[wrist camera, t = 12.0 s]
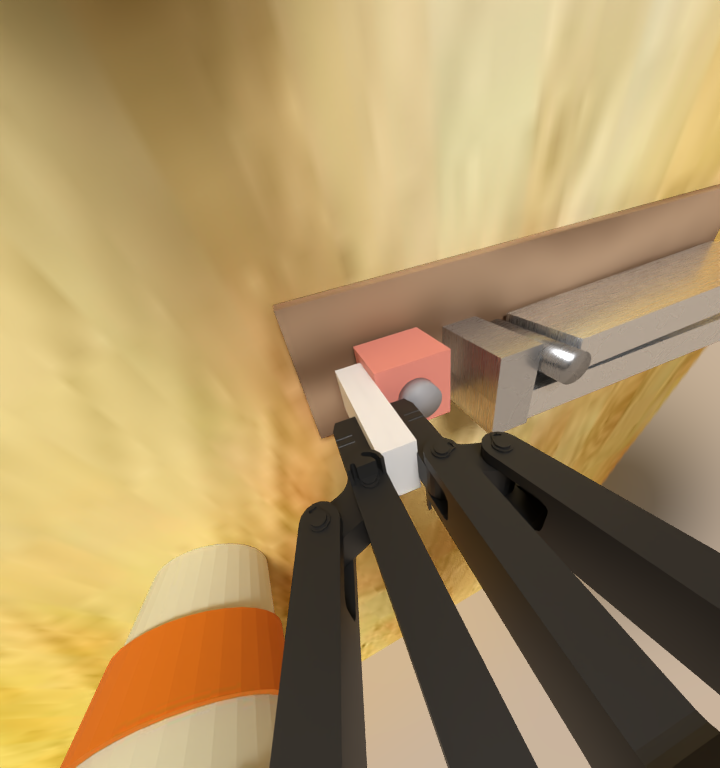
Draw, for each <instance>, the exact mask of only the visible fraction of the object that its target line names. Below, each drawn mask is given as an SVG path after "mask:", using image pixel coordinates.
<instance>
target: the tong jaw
mask: <svg viewBox="0 0 720 768" xmlns="http://www.w3.org/2000/svg"><path fill="white" fill-rule="evenodd" d="M718 313H720V241H709V242H707V243H704V244H701V245H698V246H695V247H692V248H690V249H687V250H684V251H681V252H678V253H675V254H673V255H670V256H667V257H664V258H661V259H658V260H656V261H653V262H650V263H647V264H644V265H641V266H639V267H636V268H633V269H630V270H627V271H624V272H622V273H619V274H616V275H613V276H610V277H607V278H605V279H602V280H599V281H596V282H593V283H590V284H588V285H585V286H582V287H579V288H576V289H573V290H571V291H568V292H565V293H562V294H559V295H556V296H554V297H551V298H548V299H545V300H542V301H539V302H537V303H534V304H531V305H528V306H525V307H522V308H520V309H517V310H514V311H511V312H508V313H507V317H506V321H504V320H502V319H495V320H493V321H491V323H493V324H496V325H498V326H501V327H503V328H506V329H508V330H511V331H513V332H516V333H518V334H520V335H523V336H525V337H528V338H530V339H533V340H535V341H538V342H540V343H543V347H542V352H541V356H540V361H539V366H538V370H537V371H539V372H541V373H543V374H545V375H547V376H549V377H551V378H553V379H554V380H556V381H558V382H560V383H562V384H565V385H568V384H572V383H574V382H575V381H577V380H578V379H579V378H581V377H582V376H583V374H584V373H585V372H586V371H587V369H588V367H589V366H591V365H593V364H596V363H598V362H601V361H603V360H606V359H608V358H611V357H613V356H615V355H618V354H620V353H623V352H625V351H628V350H630V349H633V348H635V347H637V346H640V345H642V344H645V343H647V342H650V341H652V340H655V339H657V338H659V337H662V336H664V335H667V334H669V333H672V332H674V331H677V330H679V329H682V328H684V327H686V326H689V325H691V324H694V323H696V322H699V321H701V320H704V319H706V318H708V317H711V316H713V315H716V314H718Z"/></svg>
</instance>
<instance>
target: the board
mask: <svg viewBox="0 0 720 768" xmlns="http://www.w3.org/2000/svg"><path fill="white" fill-rule="evenodd" d="M719 229H720V185H715V186H711V187H707V188H704V189H700V190H696V191H693V192H689V193H685V194H682V195H678V196H674V197H671V198H667V199H663V200H659V201H656V202H652V203H648V204H645V205H641V206H637V207H634V208H630V209H626V210H623V211H619V212H615V213H611V214H608V215H604V216H600V217H597V218H593V219H589V220H586V221H582V222H578V223H575V224H571V225H567V226H564V227H560V228H556V229H552V230H549V231H545V232H541V233H538V234H534V235H530V236H527V237H523V238H519V239H516V240H512V241H508V242H504V243H501V244H497V245H493V246H490V247H486V248H482V249H479V250H475V251H471V252H468V253H464V254H460V255H457V256H453V257H449V258H445V259H442V260H438V261H434V262H431V263H427V264H423V265H420V266H416V267H412V268H409V269H405V270H401V271H398V272H394V273H390V274H386V275H383V276H379V277H375V278H372V279H368V280H364V281H361V282H357V283H353V284H350V285H346V286H342V287H338V288H335V289H331V290H327V291H324V292H320V293H316V294H313V295H309V296H305V297H302V298H298V299H294V300H291V301H287V302H283V303H279V304H276V305H273V309H274V313H275V316H276V318H277V321H278V324H279V326H280V329H281V332H282V334H283V337H284V340H285V342H286V345H287V348H288V350H289V353H290V356H291V358H292V361H293V364H294V367H295V369H296V372H297V375H298V377H299V380H300V383H301V385H302V388H303V391H304V393H305V396H306V399H307V401H308V404H309V407H310V409H311V412H312V415H313V418H314V420H315V423H316V426H317V428H318V431H319V434H320V436H321V439H322V438H325V437H327V436H330V435H333V430H334V425H335V423H338V422H340V421H343V420H346V419H349V416H348V414H347V412H346V409H345V406H344V402H343V399H342V395H341V391H340V388H339V384H338V381H337V377H336V373H335V371H336V370H339V369H342V368H345V367H348V366H351V365H354V364H357V363H356V358H355V354H354V349H353V347H354V346H357V345H360V344H363V343H367V342H370V341H373V340H376V339H379V338H383V337H386V336H389V335H392V334H395V333H399V332H402V331H405V330H408V329H411V328H415V327H417V328H419V329H420V330H422V331H423V332H425V333H426V334H428V335H430V336H431V337H433V338H434V339H436V340H437V341H439V342H441V343H442V344H443V339H442V327H443V326H446V325H449V324H452V323H455V322H458V321H462V320H465V319H468V318H471V317H474V316H476V317H479V318H481V319H484V320H486V321H489V322H491V321H493V320H495V319H502V320H504V321H506V317H507V313H508V312H511V311H514V310H517V309H520V308H522V307H525V306H528V305H531V304H534V303H537V302H539V301H542V300H545V299H548V298H551V297H554V296H556V295H559V294H562V293H565V292H568V291H571V290H573V289H576V288H579V287H582V286H585V285H588V284H590V283H593V282H596V281H599V280H602V279H605V278H607V277H610V276H613V275H616V274H619V273H622V272H624V271H627V270H630V269H633V268H636V267H639V266H641V265H644V264H647V263H650V262H653V261H656V260H658V259H661V258H664V257H667V256H670V255H673V254H675V253H678V252H681V251H684V250H687V249H690V248H692V247H695V246H698V245H701V244H704V243H707V242H709V241H714V239H715V237H716V235H717V233H718V231H719Z"/></svg>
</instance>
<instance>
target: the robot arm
mask: <svg viewBox="0 0 720 768" xmlns="http://www.w3.org/2000/svg"><path fill="white" fill-rule="evenodd" d="M335 373H336V377H337V381H338V384H339V388H340V391H341V395H342V399H343V402H344V406H345V409H346V412H347V414H348V416H349V419H346V420H343V421H340V422H338V423H335V425H334V430H333V434H334V437H335V440H336V443H337V446H338V449H339V452H340V455H341V458H342V461H343V464H344V467H345V470H346V473H347V476H348V482H347V485H346V488H345V489H344V491H343V492H342V493H341V494H340V495H339V496H338V497H337V498H335V499H334V500H333V501H332V502H318V503H315V504H313V505H311V506H310V507H309V508H307V509H306V511H305V512H304V513H303V515H302V516H301V519H300V523H299V528H298V537H297V545H296V553H295V561H294V569H293V577H292V586H291V594H290V602H289V610H288V618H287V627H286V635H285V643H284V651H283V659H282V668H281V676H280V684H279V692H278V700H277V708H276V717H275V725H274V733H273V741H272V749H271V758H270V766H269V768H367V758H366V740H365V722H364V703H363V684H362V667H361V647H360V629H359V610H358V592H357V573H356V556H357V555H358V554H359V553H361V552H362V551H363V550H364V549H365V548H366V547H367V546H368V545H369V544H370V543H371V546H372V549H373V552H374V554H375V557H376V560H377V563H378V566H379V569H380V572H381V575H382V578H383V581H384V583H385V586H386V589H387V592H388V595H389V598H390V601H391V604H392V607H393V610H394V612H395V615H396V618H397V621H398V624H399V627H400V630H401V633H402V636H403V639H404V641H405V644H406V647H407V650H408V652H409V656H410V659H411V662H412V665H413V668H414V670H415V673H416V676H417V679H418V682H419V685H420V688H421V691H422V694H423V697H424V699H425V702H426V705H427V708H428V711H429V714H430V717H431V720H432V723H433V726H434V728H435V731H436V734H437V737H438V740H439V743H440V746H441V749H442V752H443V755H444V757H445V760H446V763H447V766H448V768H538V767H537V765H536V763H535V761H534V759H533V757H532V755H531V753H530V751H529V749H528V747H527V745H526V743H525V742H524V739H523V737H522V736H521V734H520V732H519V730H518V728H517V726H516V724H515V722H514V720H513V718H512V716H511V714H510V712H509V710H508V708H507V706H506V704H505V702H504V700H503V699H502V697H501V694H500V693H499V691H498V689H497V687H496V685H495V683H494V681H493V679H492V677H491V675H490V673H489V671H488V669H487V667H486V665H485V663H484V661H483V659H482V657H481V655H480V654H479V652H478V650H477V648H476V646H475V644H474V642H473V640H472V638H471V636H470V634H469V632H468V630H467V628H466V626H465V624H464V622H463V620H462V618H461V616H460V615H459V613H458V611H457V609H456V607H455V605H454V603H453V601H452V599H451V597H450V595H449V593H448V591H447V589H446V587H445V585H444V583H443V581H442V579H441V577H440V575H439V573H438V571H437V569H436V568H435V566H434V564H433V562H432V560H431V558H430V556H429V554H428V552H427V550H426V548H425V546H424V544H423V542H422V540H421V538H420V536H419V534H418V532H417V530H416V528H415V527H414V525H413V523H412V521H411V519H410V517H409V515H408V513H407V511H406V509H405V507H404V505H403V503H402V501H401V499H400V497H399V496H400V495H403V494H405V493H408V492H410V491H412V490H415V489H417V488H420V487H421V483H420V480H421V481H422V483H423V484H424V486H425V488H426V496H427V506H428V509H429V510H431V509H432V508H431V504H432V506H433V508H434V509H435V511H436V513H437V514H438V516H439V518H440V519H441V521H442V522H443V524H444V526H445V527H446V529H447V531H448V532H449V534H450V536H451V537H452V539H453V541H454V542H455V544H456V545H457V547H458V549H459V550H460V552H461V554H462V555H463V557H464V559H465V560H466V562H467V564H468V565H469V567H470V568H471V570H472V572H473V573H474V575H475V577H476V578H477V580H478V582H479V583H480V585H481V586H482V588H483V590H484V591H485V593H486V595H487V596H488V598H489V600H490V601H491V603H492V604H493V606H494V608H495V609H496V611H497V613H498V614H499V616H500V618H501V619H502V621H503V623H504V624H505V626H506V628H507V629H508V631H509V632H510V634H511V636H512V637H513V639H514V641H515V642H516V644H517V646H518V647H519V649H520V651H521V652H522V654H523V655H524V657H525V659H526V660H527V662H528V664H529V665H530V667H531V668H532V670H533V672H534V674H535V675H536V677H537V678H538V680H539V682H540V683H541V685H542V687H543V688H544V690H545V692H546V693H547V695H548V696H549V698H550V700H551V701H552V703H553V705H554V706H555V708H556V709H557V711H558V713H559V715H560V716H561V718H562V719H563V721H564V723H565V724H566V726H567V728H568V729H569V731H570V733H571V734H572V736H573V738H574V739H575V741H576V742H577V744H578V746H579V747H580V749H581V751H582V752H583V754H584V756H585V757H586V759H587V761H588V762H589V764H590V766H591V768H720V732H719V731H718V730H717V729H716V728H715V727H713V726H712V725H711V724H710V723H709V722H708V721H707V720H705V718H704V717H703V716H702V715H701V714H699V712H698V711H697V710H695V708H694V707H693V706H692V705H691V704H690V703H689V701H688V700H687V699H686V698H685V697H684V696H683V695H682V694H681V693H680V692H679V690H678V689H677V688H676V687H675V686H674V685H673V684H672V683H671V682H670V680H669V679H668V678H667V677H666V676H665V675H664V674H663V673H662V671H661V670H660V669H659V668H658V667H657V666H656V665H655V664H654V663H653V661H651V659H650V658H649V657H648V656H647V655H646V654H645V653H644V652H643V650H641V648H640V647H639V646H638V645H637V644H636V643H635V641H634V640H633V639H632V638H631V637H630V636H629V635H628V634H627V633H626V631H625V630H624V629H623V628H622V627H621V626H620V625H619V624H618V622H617V621H616V620H615V619H614V618H613V617H612V616H611V615H610V614H609V613H608V611H607V610H606V609H605V608H604V607H603V606H602V605H601V604H600V602H599V601H598V600H597V599H596V598H595V597H594V596H593V595H592V594H591V592H590V591H589V590H588V589H587V588H586V587H585V586H584V585H583V584H582V582H581V581H580V580H579V579H578V578H577V577H576V576H578V577H579V578H580V579H582V581H584V582H585V583H586V584H587V585H589V586H590V587H591V588H592V589H594V590H595V591H596V592H597V593H598V594H600V595H601V596H602V597H603V598H604V599H606V600H607V601H608V602H609V603H610V604H611V605H613V606H614V607H615V608H616V609H617V610H619V611H620V612H621V613H622V614H623V615H625V616H626V617H627V618H628V619H629V620H631V621H632V622H633V623H634V624H635V625H637V626H638V627H639V628H640V629H641V630H643V631H644V632H645V633H646V634H647V635H649V636H650V637H651V638H652V639H653V640H655V641H656V642H657V643H658V644H659V645H661V646H662V647H663V648H664V649H665V650H667V651H668V652H669V653H670V654H671V655H673V656H674V657H675V658H676V659H677V660H679V661H680V662H681V663H682V664H684V665H685V666H686V667H687V668H688V669H689V670H691V671H692V672H693V673H694V674H695V675H697V676H698V677H699V678H700V679H701V680H703V681H704V682H705V683H706V684H707V685H709V686H710V687H711V688H712V689H713V690H715V691H716V692H717V693H718V694H719V695H720V553H719V552H717V551H716V550H714V549H712V548H710V547H708V546H707V545H705V544H703V543H701V542H700V541H698V540H696V539H694V538H693V537H691V536H689V535H687V534H686V533H684V532H682V531H680V530H679V529H677V528H675V527H673V526H672V525H670V524H668V523H666V522H664V521H663V520H661V519H659V518H657V517H656V516H654V515H652V514H650V513H649V512H647V511H645V510H643V509H641V508H640V507H638V506H636V505H635V504H633V503H631V502H629V501H628V500H626V499H624V498H622V497H620V496H619V495H617V494H615V493H613V492H612V491H610V490H608V489H606V488H605V487H603V486H601V485H599V484H598V483H596V482H594V481H592V480H591V479H589V478H587V477H585V476H584V475H582V474H580V473H578V472H577V471H575V470H573V469H571V468H569V467H568V466H566V465H564V464H562V463H561V462H559V461H557V460H555V459H554V458H552V457H550V456H548V455H547V454H545V453H543V452H541V451H540V450H538V449H536V448H534V447H533V446H531V445H529V444H527V443H526V442H524V441H522V440H520V439H518V438H517V437H515V436H513V435H511V434H508V433H505V432H499V431H497V432H490V433H488V434H486V435H485V436H484V437H483V438H482V443H474V444H456V443H455V442H454V441H452V440H450V439H447V438H443V437H442V436H441V435H440V434H439V433H438V431H437V430H436V429H435V428H434V427H433V426H432V424H431V423H430V422H429V421H428V420H427V419H426V417H425V416H423V414H422V413H421V412H420V411H419V409H418V408H417V407H416V406H415V405H414V404H413V403H412V402H410V401H408V400H406V399H404V398H403V399H401V400H398V401H395V402H392V403H389V402H388V400H387V399H386V397H385V396H384V395H383V393H382V392H381V391H380V389H379V388H378V386H377V385H376V384H375V382H374V381H373V380H372V378H371V377H370V376H369V374H368V373H367V371H366V370H365V369H364V367H363V366H362V365H361V363H358V364H354V365H351V366H348V367H345V368H342V369H339V370H336V371H335ZM573 573H574V574H575V575H576V576H575V575H574V574H573Z"/></svg>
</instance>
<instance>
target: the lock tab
mask: <svg viewBox="0 0 720 768" xmlns="http://www.w3.org/2000/svg"><path fill="white" fill-rule="evenodd" d="M353 349H354V354H355V358H356V363H357V364H358V363H361V365H362V366H363V367H364V369H365V370H366V371H367V373H368V374H369V376H370V377H371V378H372V380H373V381H374V382H375V384H376V385H377V386H378V388H379V389H380V391H381V392H382V393H383V395H384V396H385V397H386V399H387V400H388V402H389V403H392V402H395V401H398V400H401V399H403V398H404V399H406V400H408V401H410V402H412V403H413V404H414V405H415V406H416V407H417V408H418V409H419V411H420V412H421V413H422V414H423V416H425V417H426V419H427V420H429V419H432V418H435V417H437V416H440V415H443V414H445V413H448V412H450V370H451V349H450V348H448V347H447V346H445V345H444V344H442V343H441V342H439V341H437V340H436V339H434V338H433V337H431V336H430V335H428V334H426V333H425V332H423V331H422V330H420V329H419V328H417V327H415V328H411V329H408V330H405V331H402V332H399V333H395V334H392V335H389V336H386V337H383V338H379V339H376V340H373V341H370V342H367V343H363V344H360V345H357V346H354V347H353Z"/></svg>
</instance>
